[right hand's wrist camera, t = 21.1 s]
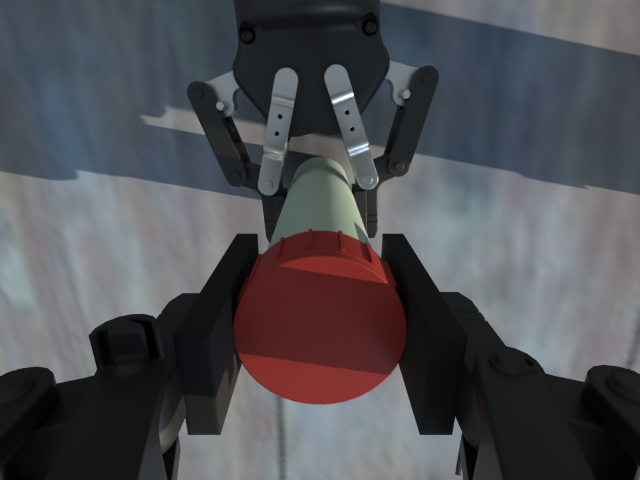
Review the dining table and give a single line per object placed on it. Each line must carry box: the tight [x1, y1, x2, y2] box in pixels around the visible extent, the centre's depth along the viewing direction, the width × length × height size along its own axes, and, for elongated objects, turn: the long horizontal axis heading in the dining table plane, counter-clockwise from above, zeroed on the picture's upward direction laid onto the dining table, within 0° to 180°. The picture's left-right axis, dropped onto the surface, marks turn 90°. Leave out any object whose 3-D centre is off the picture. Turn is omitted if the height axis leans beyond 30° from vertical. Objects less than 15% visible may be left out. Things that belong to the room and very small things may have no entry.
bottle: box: [268, 157, 372, 249], centre depth 20 cm, size 4×4×19 cm
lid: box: [233, 229, 407, 404], centre depth 11 cm, size 5×5×2 cm
